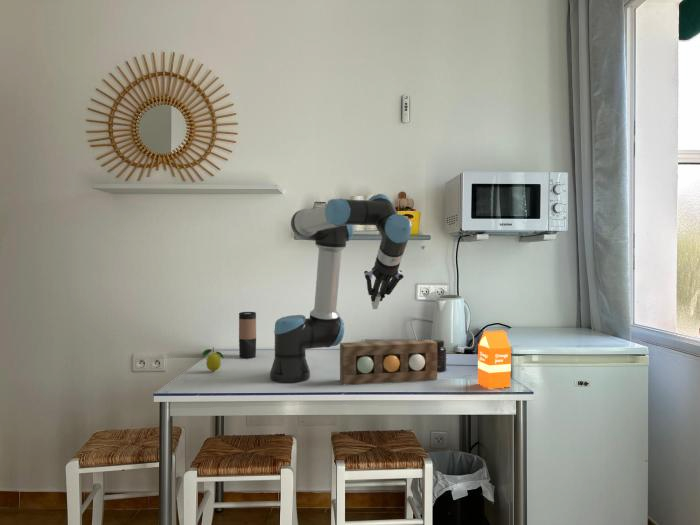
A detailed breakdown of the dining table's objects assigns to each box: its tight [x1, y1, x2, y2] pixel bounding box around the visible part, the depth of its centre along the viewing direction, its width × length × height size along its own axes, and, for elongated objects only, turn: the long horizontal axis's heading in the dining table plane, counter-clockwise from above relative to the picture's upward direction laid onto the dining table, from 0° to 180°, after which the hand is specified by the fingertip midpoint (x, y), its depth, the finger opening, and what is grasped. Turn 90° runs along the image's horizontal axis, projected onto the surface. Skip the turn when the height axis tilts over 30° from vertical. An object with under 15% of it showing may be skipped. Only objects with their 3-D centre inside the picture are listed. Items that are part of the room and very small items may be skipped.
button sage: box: [356, 355, 374, 373], centre depth 189 cm, size 6×3×6 cm, turn 103°
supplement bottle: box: [432, 339, 447, 373], centre depth 209 cm, size 7×7×12 cm
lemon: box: [201, 346, 225, 373], centre depth 204 cm, size 7×6×10 cm
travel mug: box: [238, 311, 257, 360], centre depth 231 cm, size 8×8×20 cm
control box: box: [339, 339, 438, 385], centre depth 193 cm, size 36×7×14 cm, turn 103°
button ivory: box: [408, 353, 425, 371], centre depth 193 cm, size 6×3×6 cm, turn 103°
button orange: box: [382, 354, 400, 372], centre depth 191 cm, size 6×3×6 cm, turn 103°
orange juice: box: [477, 330, 512, 390], centre depth 186 cm, size 8×9×20 cm
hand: (374, 305), depth 175 cm, fingers closed
